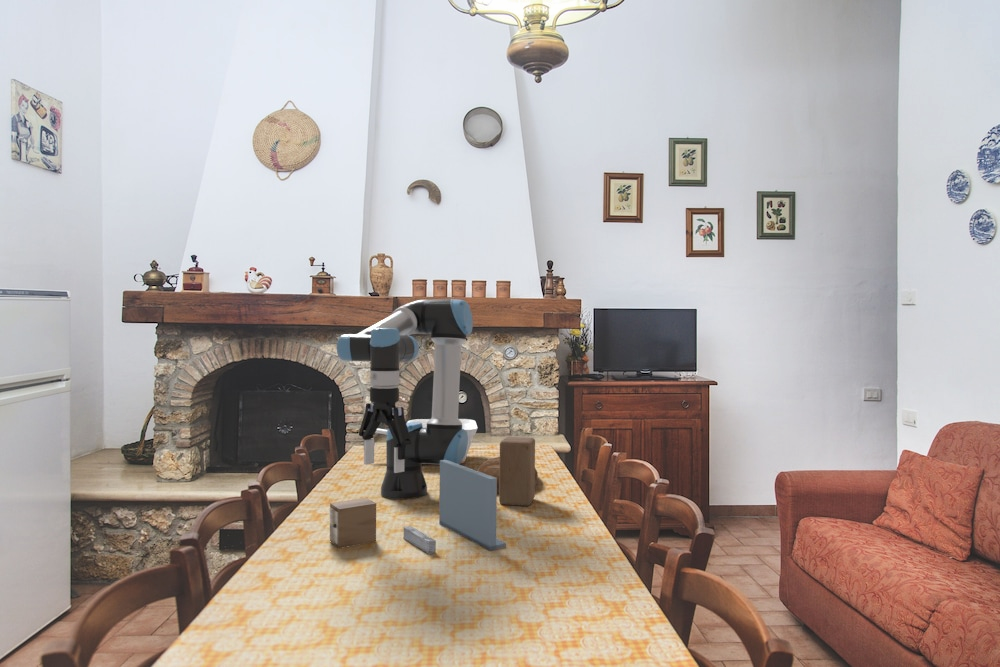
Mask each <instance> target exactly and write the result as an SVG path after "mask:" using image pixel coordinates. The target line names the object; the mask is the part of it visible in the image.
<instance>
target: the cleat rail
mask: <svg viewBox="0 0 1000 667" xmlns="http://www.w3.org/2000/svg"><path fill="white" fill-rule="evenodd" d="M403 539H404V540H405V541H407V542H409V543H410V544H411V545H413V546H414V547H416V548H418V549H420V550H422V551H423V552H424V553H425V554H427V555H431V554H436V553H437V551H436V550H437V542H436V541H437V540H435V539H434V538H432V537H430V536H429V535H427V534H425V533H424V532H422V531H420V530H418V529H417V528H415V527H413V526H412V525H408V526H403Z"/></svg>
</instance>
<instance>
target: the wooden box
mask: <svg viewBox="0 0 1000 667" xmlns="http://www.w3.org/2000/svg"><path fill="white" fill-rule="evenodd" d="M330 541H331V542H332V543H331V542H330ZM375 541H376V542H377V503H376V501H375V502H374V501H373V500H371V499H370V498H368V497H362V498H357V499H348V500H343V501H342V500H341V501H335V502H330V503H329V542H330V543H331V544H333V543H334V544H335V545H336V546H337V547H336V546H335V545H334V544H333V545H334V546H335V547H336V548H337V549H343V548H342V547H345V548H348V547H347V546H350V547H354V546H353V545H355V546H359V544H360V545H364V543H365V544H369V543H375Z"/></svg>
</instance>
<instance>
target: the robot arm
mask: <svg viewBox="0 0 1000 667" xmlns="http://www.w3.org/2000/svg"><path fill="white" fill-rule="evenodd" d="M473 321H474V319H473V314H472V310H471V306H470V304H469V303H468V302H467V301H466V300H464V299H456V298H439V299H437V298H435V299H434V298H433V299H432V298H431V299H428V298H423V299H418V300H414V301H411V302H408V303H406V304H403V305H401V306H399V307H397V308H395V309H394V310H393V311H392V312H391V314H390V315H389V316H387V317H385V318H384V319H382V320H380V321H378V322H377V323H375V324H373V325H371V326H369V327H367V328H365V329H363V330H362V331H360V332H358V333H355V334H353V333H348V334H346V333H345V334H341V335H339V337H338V339H337V342H336V354H337V356H338V358H339V359H340V360H342V361H348V362H353V363H354V362H370V368H369V370H370V375H369V377H370V378H369V379H370V380H369V381H370V382H369V384H370V386H372V387H370V388H369V401H370V402H369V403H368V402H367V403H365V412H364V415H363V418H362V421H361V423H360V428H359V431H358V436H359V437H362V440H363V464H364V465H373V464H375V434H376V433H375V432H376V430H377V429H379V427H380V425H381V423H382V424H385V426H387V429H386V430H387V435H386V439H385V441H386V442H385V443H386V445H385V446H386V448H385V449H386V452H385V453H386V467H385V468H386V470H385V471H386V472H385V474H384V478H383V481H382V483H381V486H380V495H381V496H382V497H384V498H386V499H393V500H411V499H416V498H422V497H425V496H426V495H427V494H428V485H427V483H426V479H425V475H424V472H423V468H422V467H423V465H439V466H440V460H448V461H451V462H454V463H457V464H459V463H460V462H461V461H462V460H463V458H464V456H465V453H466V449H467V444H468V433H467V431H466V430H464V429H462V423H461V422H460V420H459V419H460V418H459V408H460V407H459V406H460V405H459V403H460V402H459V401H460V384H461V383H460V381H461V379H460V378H461V356H462V346H463V344H464V343H466V341H467V336H469V335H471V334H472V332H473V327H474V326H473V325H474V322H473ZM414 334H415V335H417V334H419V335H420V334H421V335H430V340H431V342H433V343H434V345H435V346H434V358H433V359H434V361H433V362H434V364H433V381H432V382H433V383H432V384H433V385H432V403H431V405H432V406H431V418H429V419H430V420H429V421H428V422H427V428H423V425H422V423H421V422H411V423H407V422H406V417H405V409H404V407H403V406H400V407H396V403H397V402H399V400H400V388H399V387H398V386H399V385H400V363H408V362H411V361H414V360H415V359H416V358H417V356H418V354H419V350H420V347H419V342H418V340H416V338H414V336H411V335H414ZM422 463H423V464H422ZM459 465H460V464H459Z"/></svg>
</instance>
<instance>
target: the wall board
mask: <svg viewBox="0 0 1000 667" xmlns="http://www.w3.org/2000/svg"><path fill="white" fill-rule="evenodd" d="M497 495H498V494H497V478H495V477H492V476H490V475H487V474H484V473H481V472H479V471H477V470H475V469H473V468H470V467H468V466H464V465H463V464H457V463H454V462H451V461H448V460H440V465H439V498H438V499H439V506H438V507H439V508H438V509H439V511H438V512H439V513H438V515H439V518H438V521H439V522H438V523H439V525H440V526H443V527H445V528H446V529H448V530H450V531H452V532H454V533H455V534H458V535H459V536H462V537H464V539H467V540H469V541H471V542H473V543H475V544H477V545H478V546H480V547H482V548H484V549H486V550H487V551H494V550H499V549H503V548H506V547H507V543H506V542H505V541H502V540H501V539H499V538H497V515H498V514H497V510H498V508H497V502H498V501H497V500H498V498H497Z"/></svg>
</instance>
